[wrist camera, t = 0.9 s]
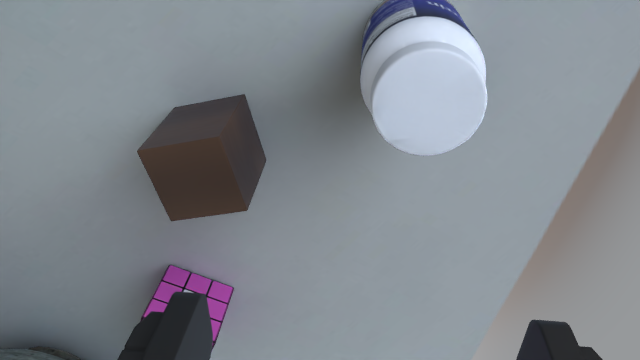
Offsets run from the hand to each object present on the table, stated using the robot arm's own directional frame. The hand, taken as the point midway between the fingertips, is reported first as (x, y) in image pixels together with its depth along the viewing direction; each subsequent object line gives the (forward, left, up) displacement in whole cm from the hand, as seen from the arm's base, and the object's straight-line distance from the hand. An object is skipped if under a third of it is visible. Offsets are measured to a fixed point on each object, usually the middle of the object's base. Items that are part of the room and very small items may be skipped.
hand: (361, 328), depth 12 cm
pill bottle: (-2, +2, -20) cm, 20 cm away
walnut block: (+5, -10, -20) cm, 23 cm away
